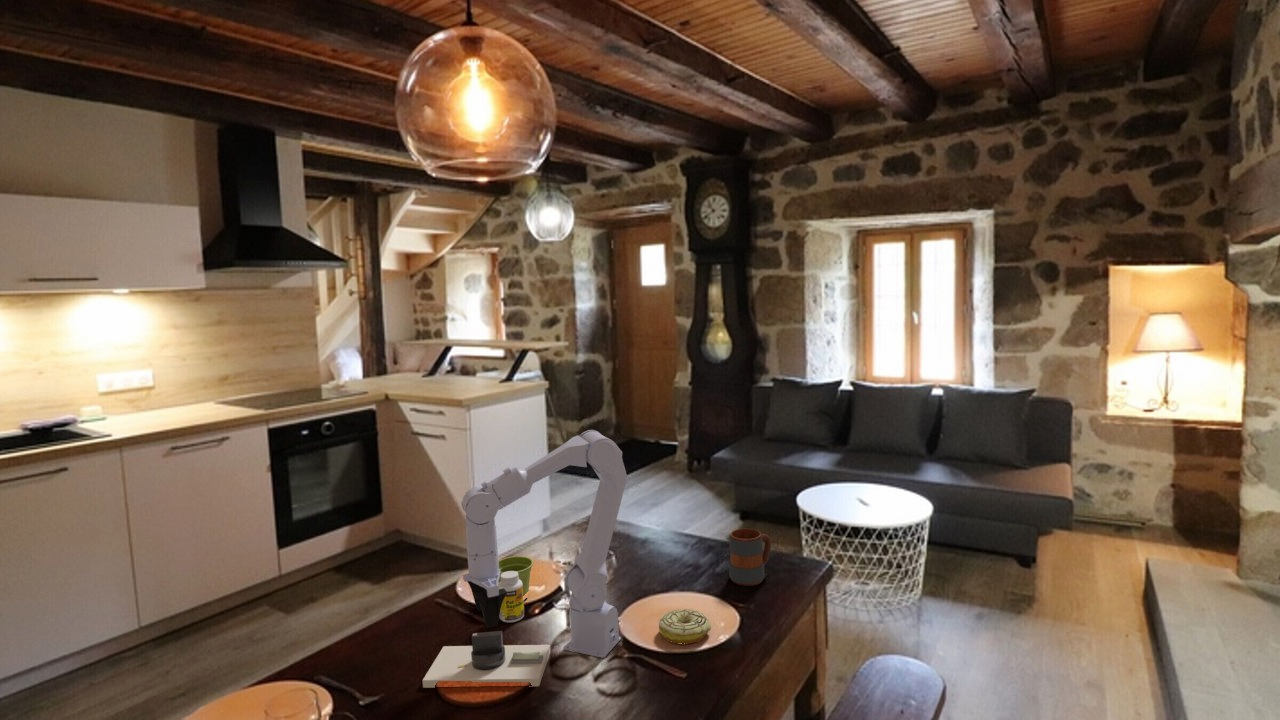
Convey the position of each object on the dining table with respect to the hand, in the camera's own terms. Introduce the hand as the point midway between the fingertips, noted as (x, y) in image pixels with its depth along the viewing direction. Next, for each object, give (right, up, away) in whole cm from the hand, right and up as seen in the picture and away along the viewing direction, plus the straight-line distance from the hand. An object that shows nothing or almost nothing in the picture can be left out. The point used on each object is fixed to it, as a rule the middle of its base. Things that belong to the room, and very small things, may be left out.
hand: (487, 617), depth 133 cm
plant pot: (0, -7, +31) cm, 31 cm away
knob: (0, -9, +1) cm, 9 cm away
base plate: (0, -10, +1) cm, 10 cm away
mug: (+58, -4, +37) cm, 68 cm away
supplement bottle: (+1, -8, +21) cm, 23 cm away
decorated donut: (+39, -8, +11) cm, 42 cm away
